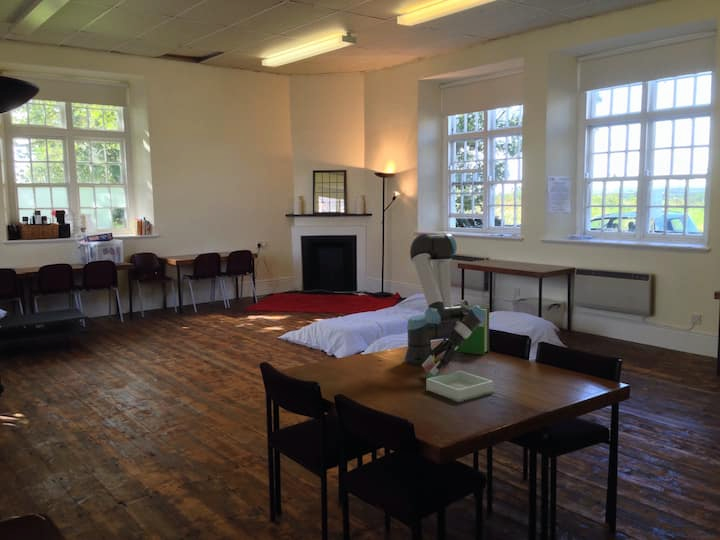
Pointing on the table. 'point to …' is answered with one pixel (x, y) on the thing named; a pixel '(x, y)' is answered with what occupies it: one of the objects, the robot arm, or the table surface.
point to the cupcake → (430, 366)
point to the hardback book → (478, 337)
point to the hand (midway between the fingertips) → (427, 370)
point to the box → (459, 386)
